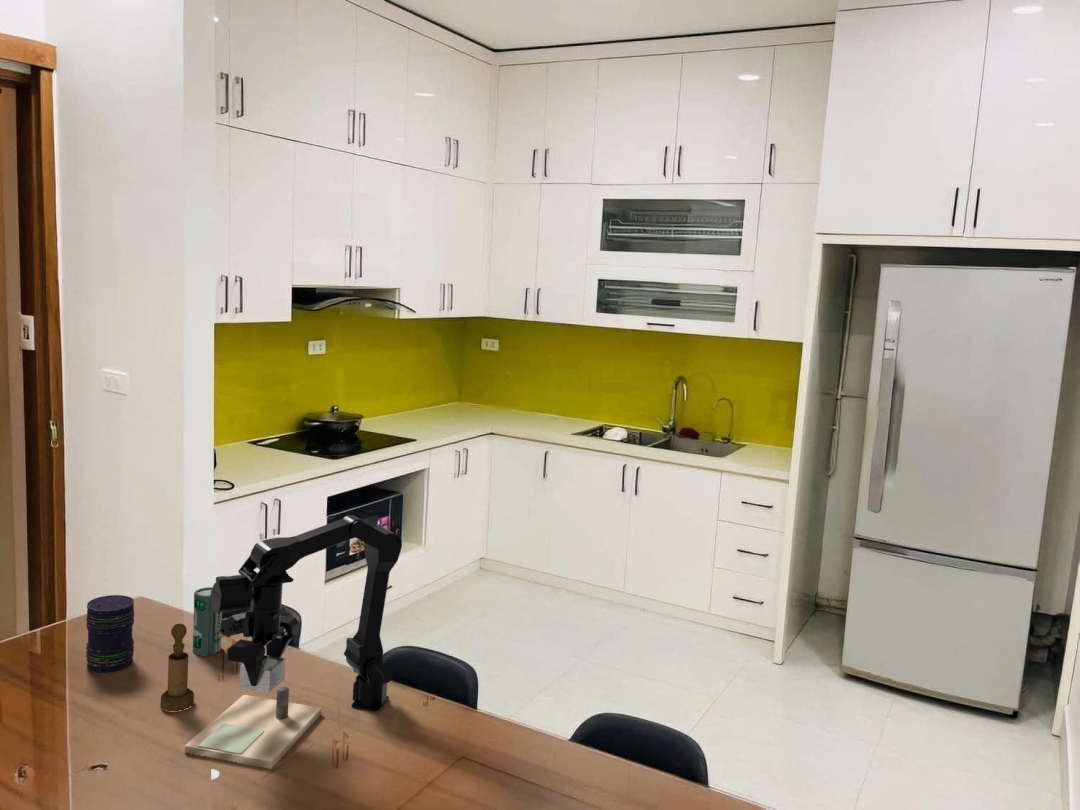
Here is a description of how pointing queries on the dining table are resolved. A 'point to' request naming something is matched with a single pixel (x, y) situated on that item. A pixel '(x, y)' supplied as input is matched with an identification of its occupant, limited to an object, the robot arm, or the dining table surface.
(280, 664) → the collar
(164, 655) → the dining table surface
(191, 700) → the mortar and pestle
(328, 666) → the dining table surface
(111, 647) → the storage jar
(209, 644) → the can
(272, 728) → the board
